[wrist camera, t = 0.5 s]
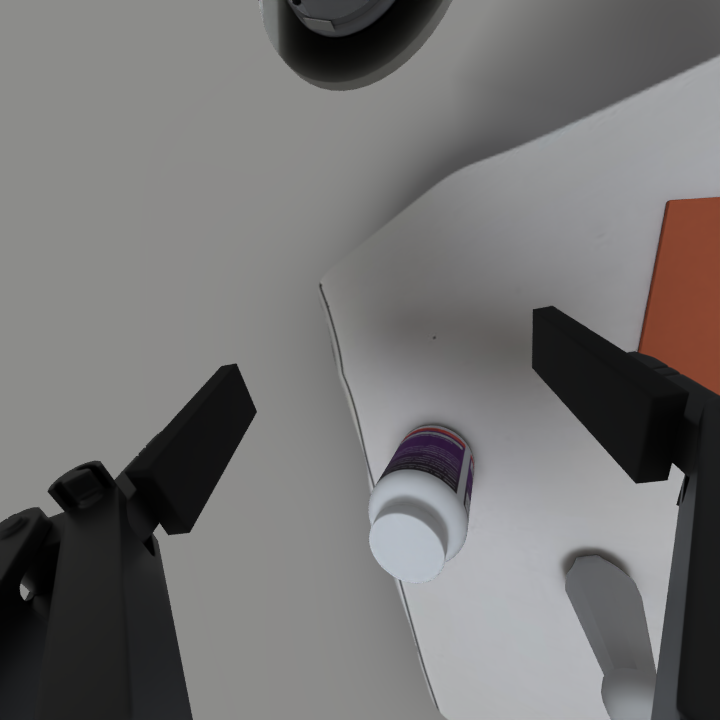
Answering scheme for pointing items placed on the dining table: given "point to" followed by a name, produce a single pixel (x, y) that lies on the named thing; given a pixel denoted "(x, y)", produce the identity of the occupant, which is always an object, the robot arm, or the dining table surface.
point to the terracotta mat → (687, 292)
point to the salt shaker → (615, 635)
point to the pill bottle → (422, 504)
